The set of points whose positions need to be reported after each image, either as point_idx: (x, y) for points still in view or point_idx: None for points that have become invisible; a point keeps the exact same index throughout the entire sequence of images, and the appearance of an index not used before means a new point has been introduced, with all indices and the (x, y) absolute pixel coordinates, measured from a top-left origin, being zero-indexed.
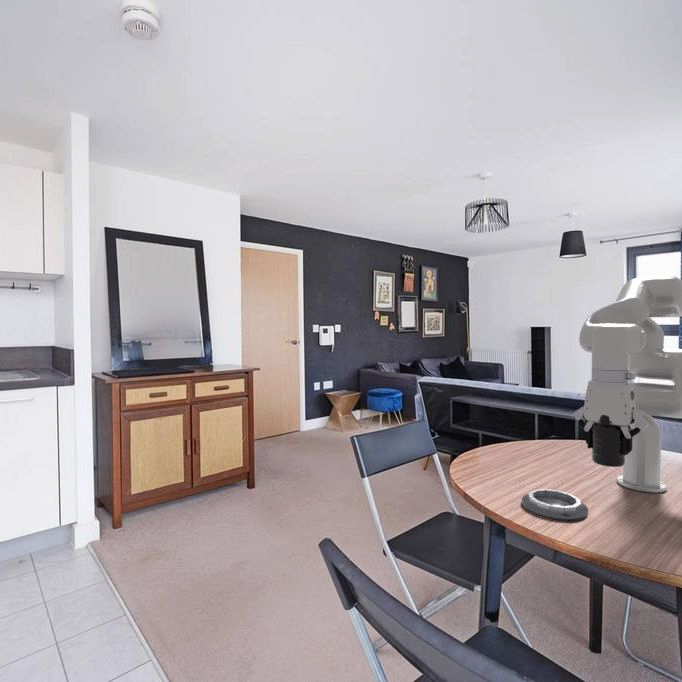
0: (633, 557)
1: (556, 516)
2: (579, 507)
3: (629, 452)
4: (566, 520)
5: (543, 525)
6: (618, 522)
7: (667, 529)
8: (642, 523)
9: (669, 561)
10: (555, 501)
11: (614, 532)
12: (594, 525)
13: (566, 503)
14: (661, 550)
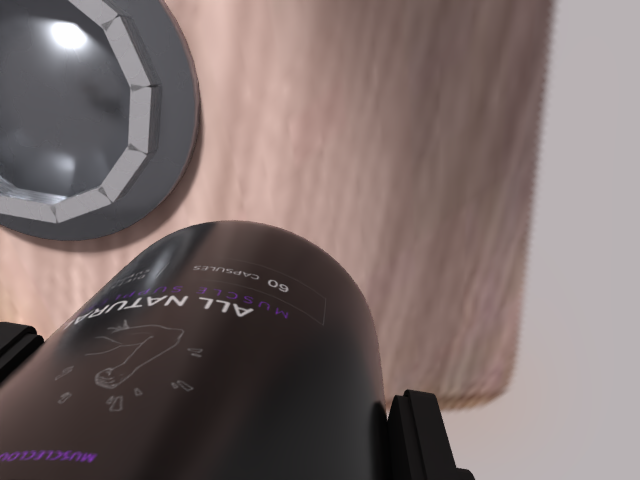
0: (401, 358)
1: (109, 232)
2: (155, 108)
3: (431, 398)
4: (148, 213)
5: None
6: (325, 74)
7: (519, 9)
8: (418, 9)
9: (501, 320)
10: (32, 58)
11: (325, 199)
12: (248, 179)
13: (82, 48)
14: (483, 253)
